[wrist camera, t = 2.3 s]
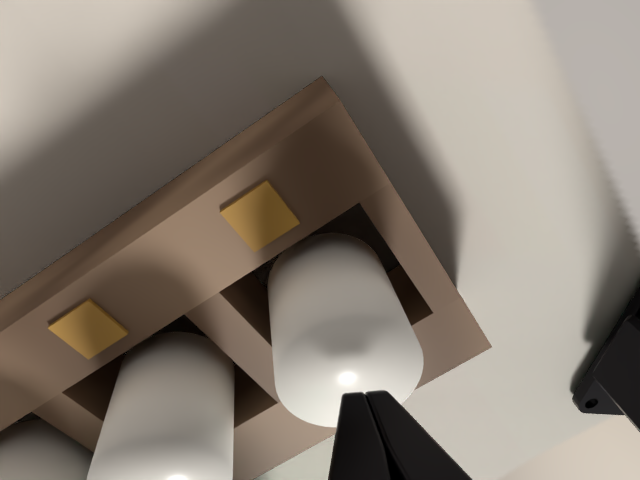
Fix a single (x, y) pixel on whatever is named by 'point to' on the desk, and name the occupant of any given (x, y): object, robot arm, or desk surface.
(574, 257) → the desk surface
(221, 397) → the button middle
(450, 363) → the button board
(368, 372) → the button near
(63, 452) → the button far
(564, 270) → the desk surface
